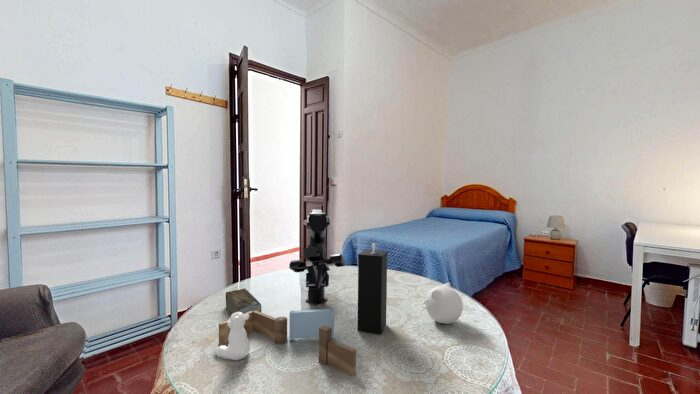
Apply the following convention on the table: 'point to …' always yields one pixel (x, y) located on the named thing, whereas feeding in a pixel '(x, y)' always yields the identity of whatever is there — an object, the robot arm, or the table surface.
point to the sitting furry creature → (235, 339)
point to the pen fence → (277, 330)
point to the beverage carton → (241, 301)
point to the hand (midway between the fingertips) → (317, 288)
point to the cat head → (443, 304)
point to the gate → (309, 323)
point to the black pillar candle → (372, 290)
